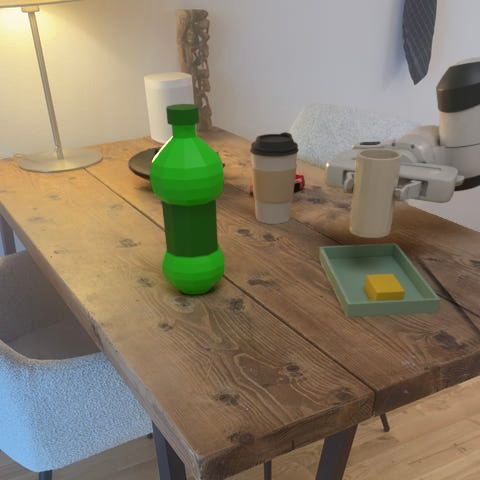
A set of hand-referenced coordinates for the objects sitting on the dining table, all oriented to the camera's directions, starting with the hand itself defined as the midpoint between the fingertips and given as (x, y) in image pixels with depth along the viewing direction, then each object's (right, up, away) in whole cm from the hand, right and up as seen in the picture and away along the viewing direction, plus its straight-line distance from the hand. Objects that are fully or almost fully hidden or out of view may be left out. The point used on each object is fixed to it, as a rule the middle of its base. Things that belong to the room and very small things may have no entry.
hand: (372, 191), depth 83 cm
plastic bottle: (-27, -13, +6) cm, 30 cm away
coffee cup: (-13, +7, +30) cm, 33 cm away
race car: (-11, +18, +43) cm, 48 cm away
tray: (+1, -13, +5) cm, 14 cm away
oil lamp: (-34, +22, +49) cm, 64 cm away
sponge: (+2, -16, 0) cm, 16 cm away
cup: (+1, -4, +4) cm, 6 cm away
